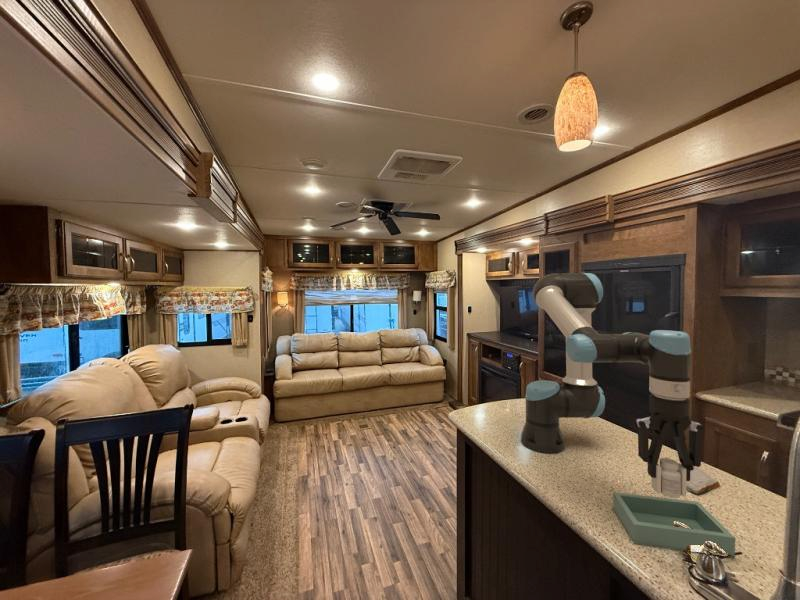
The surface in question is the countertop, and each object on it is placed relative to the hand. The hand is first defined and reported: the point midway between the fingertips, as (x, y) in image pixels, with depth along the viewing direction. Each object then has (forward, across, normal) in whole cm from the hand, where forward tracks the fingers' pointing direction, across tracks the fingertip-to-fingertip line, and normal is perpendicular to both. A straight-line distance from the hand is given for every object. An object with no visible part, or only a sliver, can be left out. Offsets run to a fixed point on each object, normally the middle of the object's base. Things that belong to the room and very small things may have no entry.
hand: (668, 491), depth 78 cm
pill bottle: (0, 0, 0) cm, 1 cm away
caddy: (+10, 0, 0) cm, 10 cm away
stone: (+10, +17, +24) cm, 32 cm away
